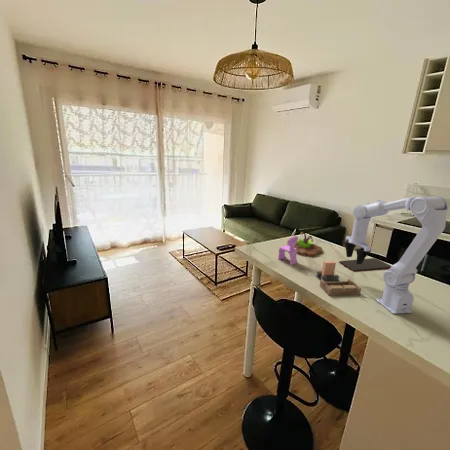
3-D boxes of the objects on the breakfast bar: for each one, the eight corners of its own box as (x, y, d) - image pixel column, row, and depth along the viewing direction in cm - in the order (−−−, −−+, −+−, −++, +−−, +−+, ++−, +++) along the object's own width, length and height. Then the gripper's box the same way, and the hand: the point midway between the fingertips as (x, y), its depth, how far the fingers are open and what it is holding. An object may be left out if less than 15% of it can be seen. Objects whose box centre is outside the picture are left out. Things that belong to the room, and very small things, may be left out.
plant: (298, 242, 167) (300, 226, 164) (326, 251, 154) (329, 234, 151) (280, 249, 154) (282, 231, 151) (309, 259, 140) (312, 240, 137)
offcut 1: (341, 293, 106) (342, 287, 105) (330, 294, 105) (331, 287, 104) (339, 291, 108) (340, 285, 107) (328, 291, 107) (329, 285, 106)
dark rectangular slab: (337, 260, 138) (375, 257, 143) (336, 263, 138) (374, 259, 144) (353, 270, 126) (393, 266, 132) (352, 273, 127) (392, 269, 132)
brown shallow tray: (359, 294, 106) (361, 288, 105) (328, 295, 104) (329, 289, 103) (348, 285, 113) (349, 279, 112) (319, 285, 112) (320, 279, 111)
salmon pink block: (333, 278, 118) (335, 262, 115) (323, 278, 117) (325, 262, 115) (330, 276, 120) (333, 261, 117) (321, 276, 119) (323, 261, 117)
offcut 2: (354, 293, 107) (356, 287, 106) (343, 293, 106) (345, 287, 105) (351, 291, 109) (353, 284, 108) (341, 291, 108) (342, 285, 107)
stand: (339, 281, 116) (340, 276, 115) (321, 281, 115) (321, 276, 114) (332, 275, 122) (333, 270, 121) (315, 275, 121) (315, 270, 120)
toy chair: (285, 256, 142) (288, 231, 138) (298, 262, 136) (302, 235, 132) (276, 259, 137) (278, 233, 133) (288, 265, 131) (292, 238, 127)
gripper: (341, 227, 117) (337, 254, 121) (361, 237, 103) (355, 267, 107) (355, 227, 118) (350, 253, 122) (377, 237, 104) (370, 267, 108)
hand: (353, 260), depth 114 cm, fingers open, 7 cm apart
